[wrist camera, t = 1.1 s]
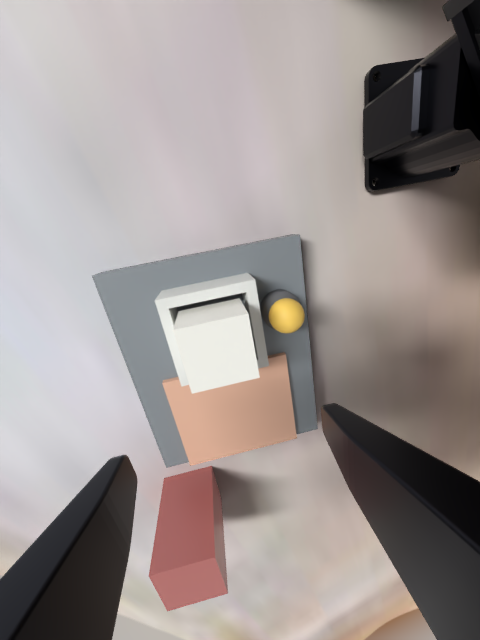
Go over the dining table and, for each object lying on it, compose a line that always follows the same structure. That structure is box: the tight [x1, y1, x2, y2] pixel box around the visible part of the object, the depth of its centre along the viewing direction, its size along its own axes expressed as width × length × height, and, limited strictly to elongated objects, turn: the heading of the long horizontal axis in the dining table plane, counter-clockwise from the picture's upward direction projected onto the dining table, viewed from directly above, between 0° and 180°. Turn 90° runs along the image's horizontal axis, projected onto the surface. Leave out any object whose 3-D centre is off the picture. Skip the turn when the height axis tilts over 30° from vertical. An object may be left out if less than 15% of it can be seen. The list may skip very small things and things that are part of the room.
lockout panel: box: [92, 234, 318, 468], centre depth 18 cm, size 13×16×4 cm
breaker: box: [173, 298, 260, 394], centre depth 14 cm, size 4×4×3 cm
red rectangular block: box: [149, 466, 228, 611], centre depth 21 cm, size 4×4×7 cm
